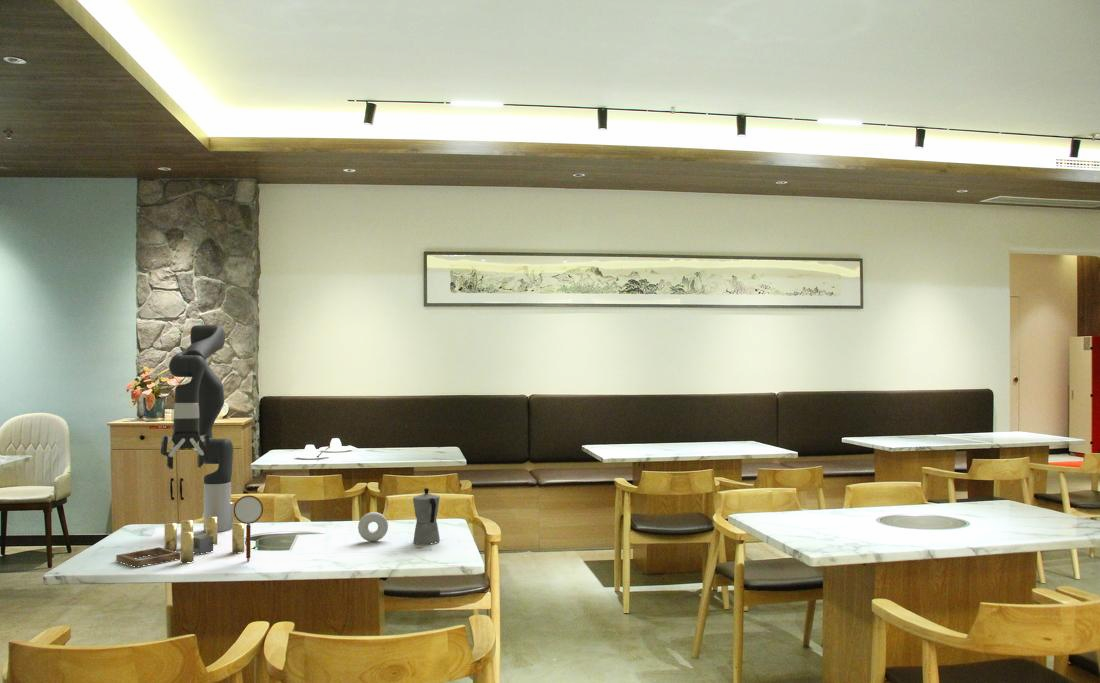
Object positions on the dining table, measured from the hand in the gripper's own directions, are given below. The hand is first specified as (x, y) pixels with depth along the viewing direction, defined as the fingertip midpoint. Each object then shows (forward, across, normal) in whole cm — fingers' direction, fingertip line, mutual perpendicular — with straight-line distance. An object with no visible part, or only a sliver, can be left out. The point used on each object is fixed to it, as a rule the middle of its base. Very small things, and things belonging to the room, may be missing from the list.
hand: (185, 468), depth 261 cm
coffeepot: (+27, -69, +34) cm, 81 cm away
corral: (+28, +10, +1) cm, 30 cm away
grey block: (+27, -6, 0) cm, 28 cm away
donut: (+27, -55, +21) cm, 65 cm away
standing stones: (+27, -5, 0) cm, 28 cm away
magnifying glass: (+28, -13, +22) cm, 38 cm away
